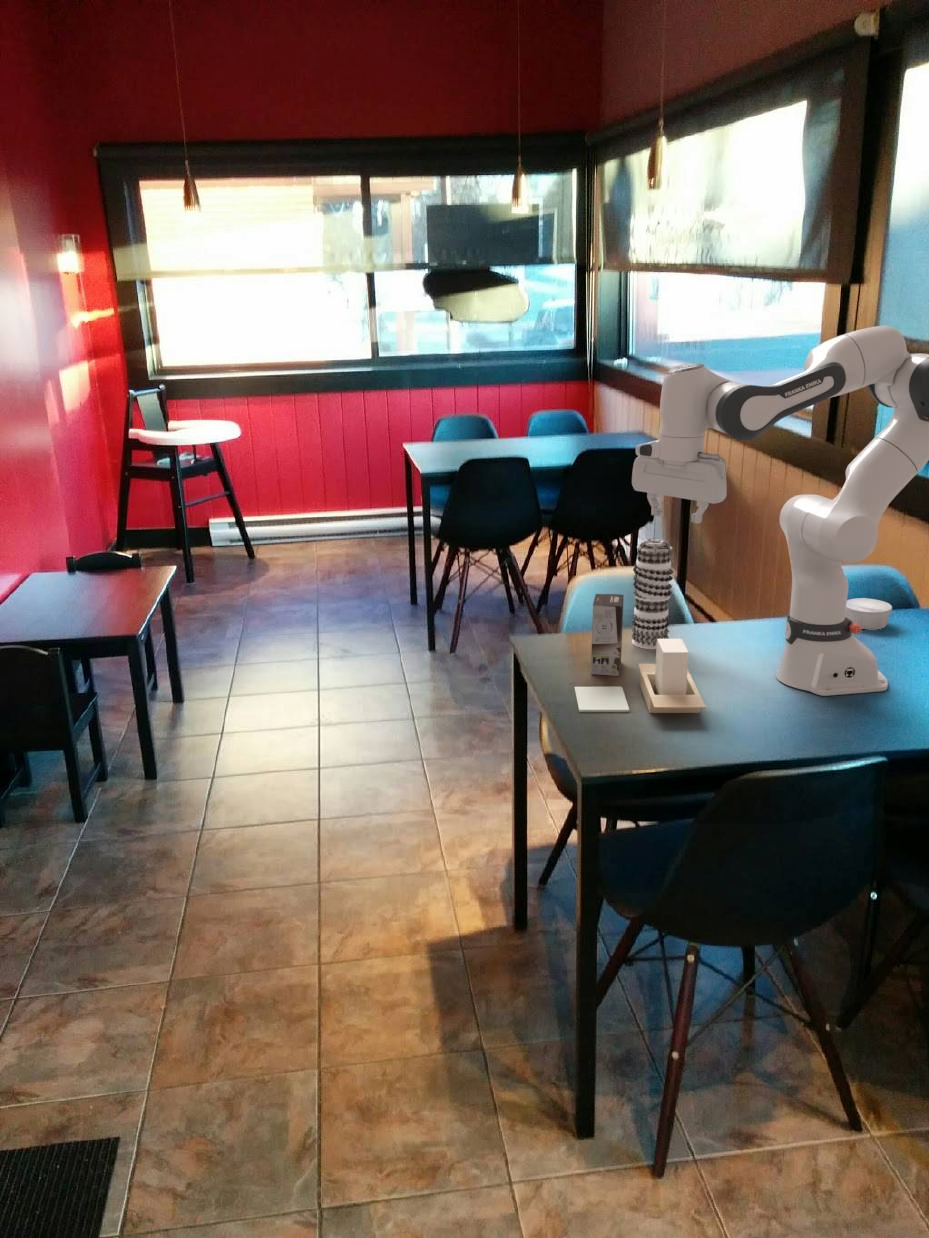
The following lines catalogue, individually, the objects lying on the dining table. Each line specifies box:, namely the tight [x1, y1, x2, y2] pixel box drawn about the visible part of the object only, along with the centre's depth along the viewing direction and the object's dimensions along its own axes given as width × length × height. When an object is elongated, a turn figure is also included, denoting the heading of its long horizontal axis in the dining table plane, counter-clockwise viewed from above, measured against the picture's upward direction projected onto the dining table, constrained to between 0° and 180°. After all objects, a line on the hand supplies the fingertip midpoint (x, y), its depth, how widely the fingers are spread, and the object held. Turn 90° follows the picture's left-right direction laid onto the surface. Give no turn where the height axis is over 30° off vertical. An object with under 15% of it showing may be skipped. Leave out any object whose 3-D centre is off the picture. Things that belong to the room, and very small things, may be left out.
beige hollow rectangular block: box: [637, 663, 707, 714], centre depth 205 cm, size 10×23×4 cm, turn 179°
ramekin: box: [845, 597, 893, 631], centre depth 247 cm, size 11×11×5 cm
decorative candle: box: [631, 538, 674, 650], centre depth 233 cm, size 9×9×25 cm
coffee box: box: [590, 593, 625, 677], centre depth 220 cm, size 9×6×16 cm
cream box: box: [653, 638, 690, 695], centre depth 203 cm, size 5×8×12 cm, turn 179°
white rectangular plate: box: [573, 686, 630, 713], centre depth 206 cm, size 10×12×1 cm
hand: (676, 518), depth 199 cm, fingers open, 8 cm apart
